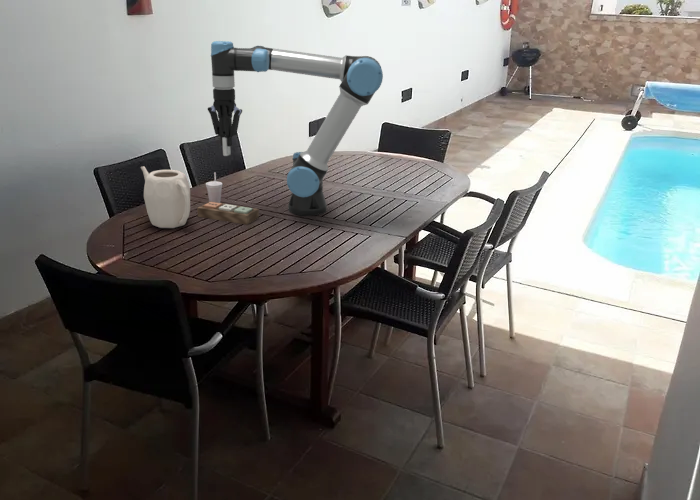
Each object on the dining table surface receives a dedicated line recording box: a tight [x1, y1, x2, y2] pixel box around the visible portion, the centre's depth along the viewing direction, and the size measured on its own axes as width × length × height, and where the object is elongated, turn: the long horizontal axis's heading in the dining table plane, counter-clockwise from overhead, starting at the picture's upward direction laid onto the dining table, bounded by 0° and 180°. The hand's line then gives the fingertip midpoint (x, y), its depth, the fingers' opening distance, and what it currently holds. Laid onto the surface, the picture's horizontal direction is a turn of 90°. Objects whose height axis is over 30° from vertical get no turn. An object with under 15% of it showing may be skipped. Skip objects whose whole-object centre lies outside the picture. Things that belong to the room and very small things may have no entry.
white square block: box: [219, 203, 238, 212], centre depth 228 cm, size 5×5×4 cm
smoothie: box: [205, 172, 223, 203], centre depth 237 cm, size 6×6×14 cm
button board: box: [196, 201, 260, 226], centre depth 228 cm, size 21×9×4 cm, turn 70°
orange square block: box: [203, 201, 222, 209], centre depth 230 cm, size 5×5×4 cm
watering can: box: [140, 166, 191, 229], centre depth 216 cm, size 16×27×19 cm, turn 52°
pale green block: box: [234, 206, 254, 214], centre depth 226 cm, size 5×5×4 cm
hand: (226, 154), depth 220 cm, fingers closed
